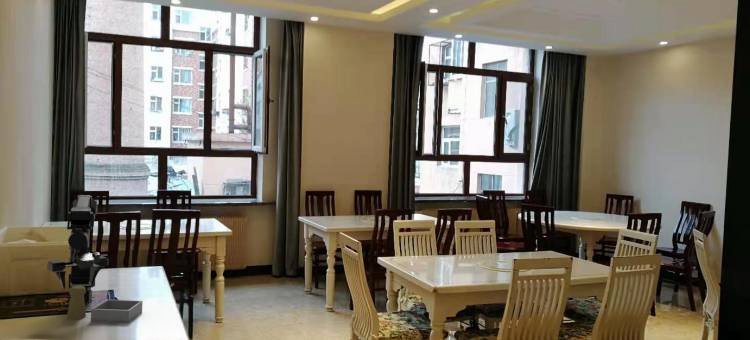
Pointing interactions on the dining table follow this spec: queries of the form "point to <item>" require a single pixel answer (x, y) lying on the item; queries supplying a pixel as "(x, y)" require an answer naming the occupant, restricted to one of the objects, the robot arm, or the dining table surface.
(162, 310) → the dining table surface
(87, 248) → the robot arm
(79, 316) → the cork
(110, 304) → the bin
